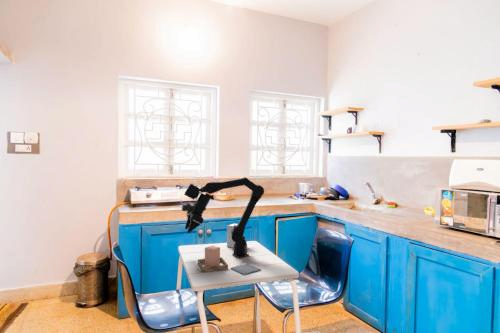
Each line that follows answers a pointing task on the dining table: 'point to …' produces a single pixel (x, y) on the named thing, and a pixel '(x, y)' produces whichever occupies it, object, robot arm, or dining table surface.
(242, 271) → the slate pad
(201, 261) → the walnut well
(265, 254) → the dining table surface
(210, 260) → the terracotta block
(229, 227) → the supplement box
